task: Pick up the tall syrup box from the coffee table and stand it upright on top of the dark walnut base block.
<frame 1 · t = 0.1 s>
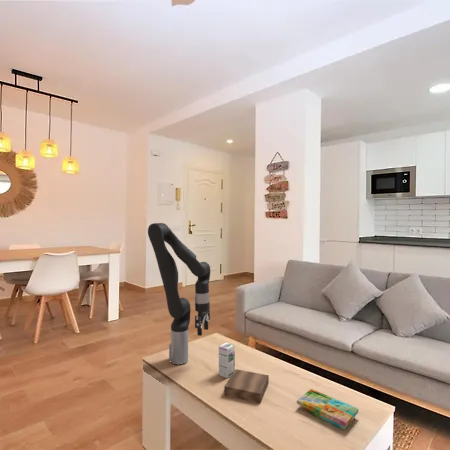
hand: (203, 332, 159), 17 cm above the table, tool pointing down, fingers open, 8 cm apart
walnut base: (247, 389, 138), on the table
puzzle game: (326, 414, 122), on the table
syrup box: (226, 374, 151), on the table
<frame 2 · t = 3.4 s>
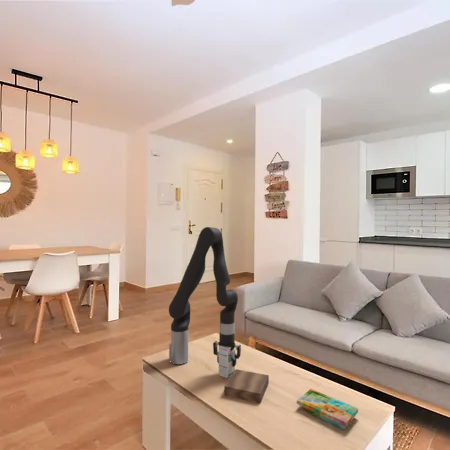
hand: (226, 364, 151), 5 cm above the table, tool pointing down, fingers closed on syrup box, 6 cm apart
syrup box: (226, 374, 151), on the table, touching gripper
everything else where it was.
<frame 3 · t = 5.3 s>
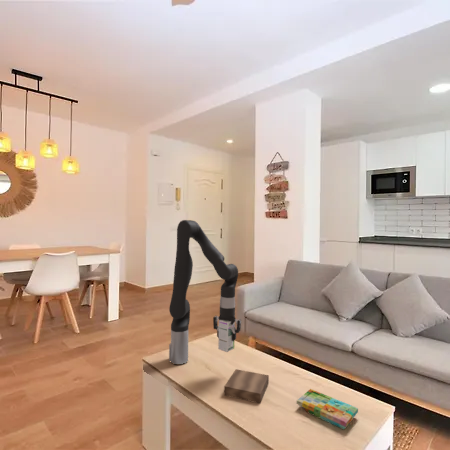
hand: (226, 339, 150), 18 cm above the table, tool pointing down, fingers closed on syrup box, 6 cm apart
syrup box: (226, 349, 150), point 12 cm above the table, touching gripper
everything else where it was.
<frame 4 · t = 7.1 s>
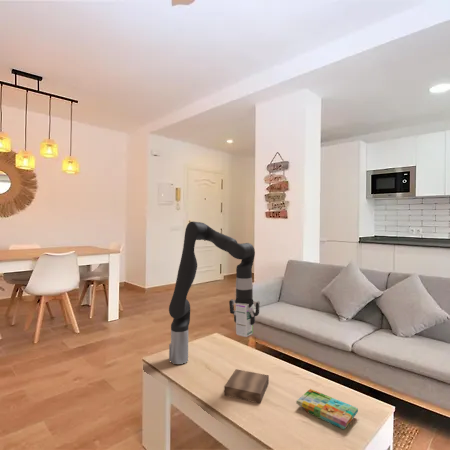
hand: (244, 323, 140), 29 cm above the table, tool pointing down, fingers closed on syrup box, 6 cm apart
syrup box: (244, 334, 140), point 24 cm above the table, touching gripper
everything else where it was.
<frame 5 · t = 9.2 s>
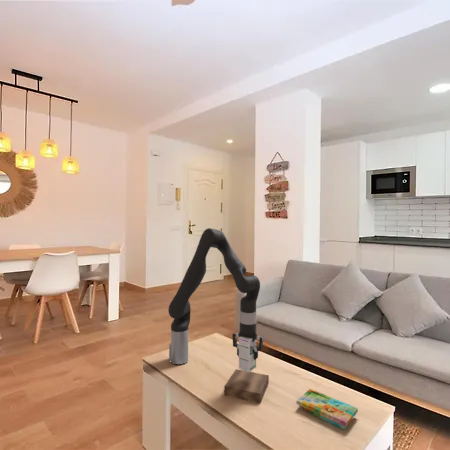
hand: (247, 357, 138), 14 cm above the table, tool pointing down, fingers closed on syrup box, 6 cm apart
syrup box: (247, 368, 138), point 9 cm above the table, touching gripper
everything else where it was.
when the fingers open (10 cm above the table, at t = 11.0 s): syrup box drops 1 cm, resting on walnut base.
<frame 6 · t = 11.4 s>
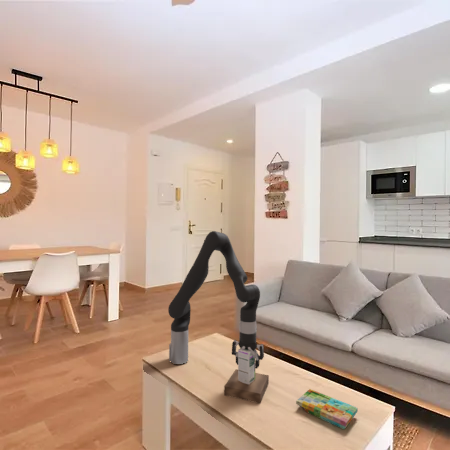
hand: (247, 365, 138), 11 cm above the table, tool pointing down, fingers open, 8 cm apart
syrup box: (246, 380, 138), point 4 cm above the table, touching walnut base
everything else where it was.
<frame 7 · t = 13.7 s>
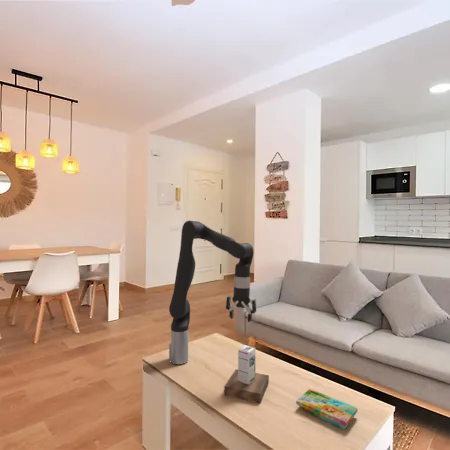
hand: (240, 320, 145), 29 cm above the table, tool pointing down, fingers open, 8 cm apart
nothing on the table moved.
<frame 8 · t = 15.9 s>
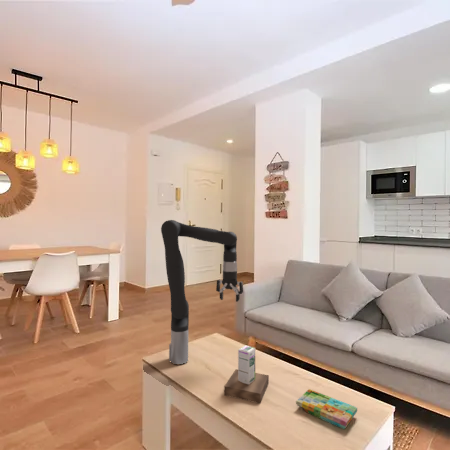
hand: (229, 300, 162), 33 cm above the table, tool pointing down, fingers open, 8 cm apart
nothing on the table moved.
at the end: syrup box inside the target area on the walnut base (0.3 cm from its centre), point 3.8 cm above the walnut base's base; syrup box tilted 0°; the gripper is holding nothing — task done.
